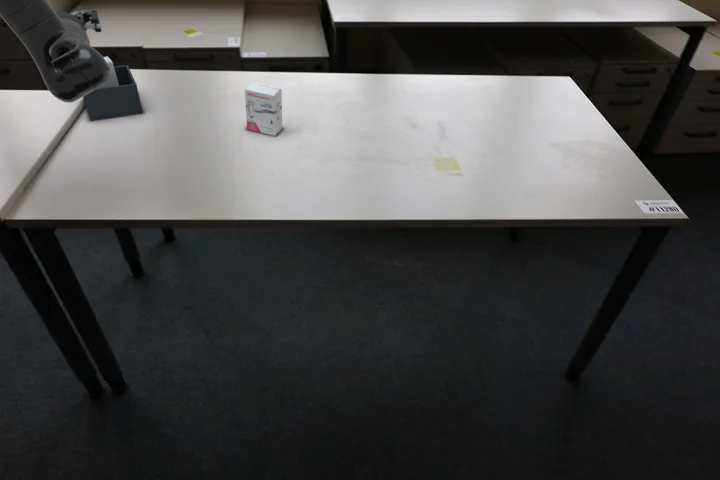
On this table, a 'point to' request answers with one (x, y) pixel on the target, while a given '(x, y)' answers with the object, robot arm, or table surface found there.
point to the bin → (115, 97)
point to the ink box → (263, 108)
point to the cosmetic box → (111, 75)
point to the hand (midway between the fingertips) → (58, 11)
